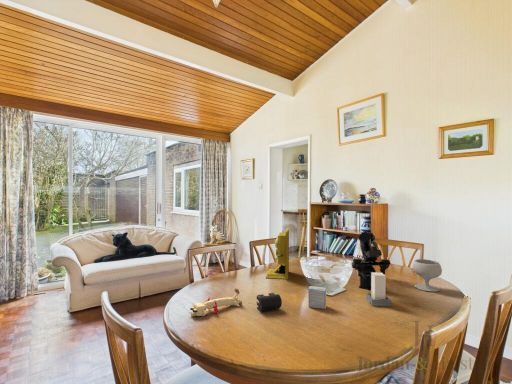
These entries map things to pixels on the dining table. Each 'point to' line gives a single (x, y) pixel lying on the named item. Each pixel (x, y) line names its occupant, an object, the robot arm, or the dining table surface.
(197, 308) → the cat figure
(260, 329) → the dining table surface
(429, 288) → the chalice
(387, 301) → the dock tray
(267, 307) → the end cap
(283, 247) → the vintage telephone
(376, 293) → the block
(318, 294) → the medicine box
